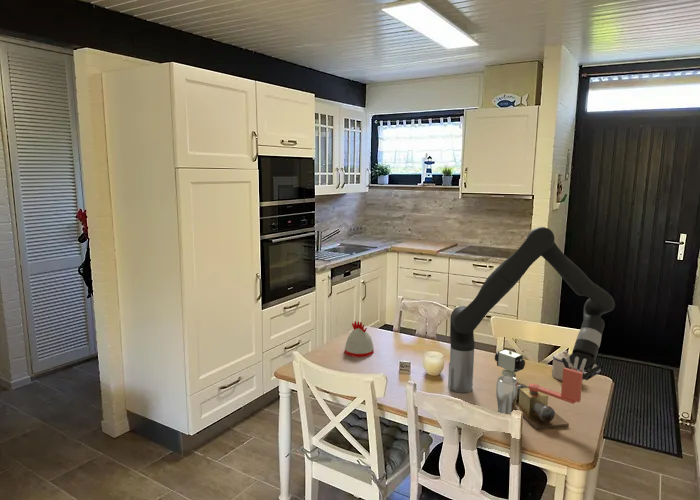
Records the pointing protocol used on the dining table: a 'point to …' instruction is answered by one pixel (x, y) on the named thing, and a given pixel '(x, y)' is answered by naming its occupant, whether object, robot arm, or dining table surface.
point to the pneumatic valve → (509, 362)
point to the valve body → (537, 409)
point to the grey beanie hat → (359, 342)
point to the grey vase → (506, 394)
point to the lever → (565, 387)
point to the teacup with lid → (560, 364)
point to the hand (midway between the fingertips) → (573, 388)
